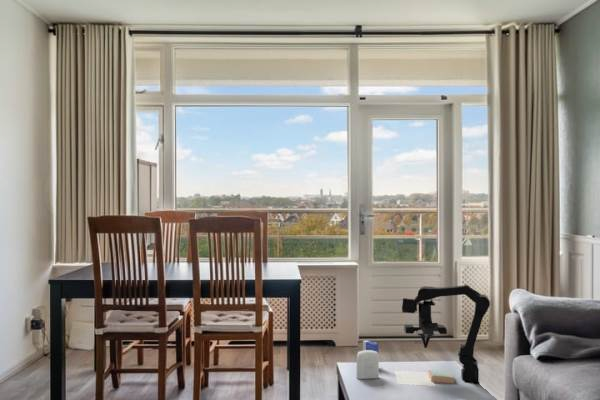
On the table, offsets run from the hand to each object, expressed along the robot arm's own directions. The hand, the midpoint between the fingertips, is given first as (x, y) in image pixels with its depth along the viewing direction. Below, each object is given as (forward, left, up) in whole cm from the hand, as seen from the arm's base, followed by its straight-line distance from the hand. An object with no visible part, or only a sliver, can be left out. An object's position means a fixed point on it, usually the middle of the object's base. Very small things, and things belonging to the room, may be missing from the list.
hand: (425, 347), depth 206 cm
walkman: (+25, -8, -13) cm, 29 cm away
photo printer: (+27, +7, -13) cm, 31 cm away
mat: (+6, +6, -13) cm, 15 cm away
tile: (-1, +6, -11) cm, 12 cm away
